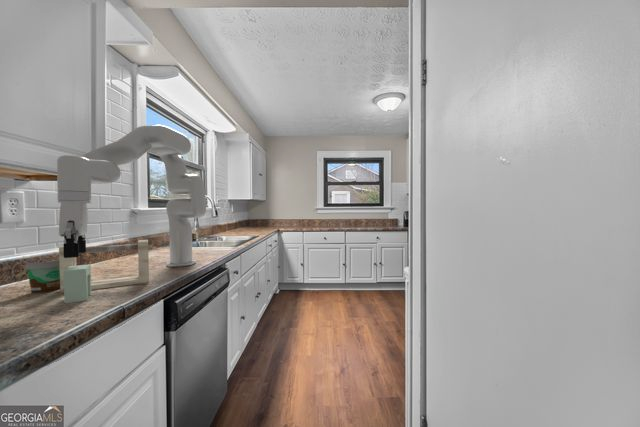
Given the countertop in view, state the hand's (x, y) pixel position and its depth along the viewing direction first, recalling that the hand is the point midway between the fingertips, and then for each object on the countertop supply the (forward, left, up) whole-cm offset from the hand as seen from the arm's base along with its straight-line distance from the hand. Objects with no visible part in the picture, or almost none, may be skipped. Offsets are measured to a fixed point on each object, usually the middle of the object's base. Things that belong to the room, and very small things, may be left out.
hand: (75, 255), depth 82 cm
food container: (-17, -9, -14) cm, 24 cm away
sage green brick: (0, 0, -13) cm, 13 cm away
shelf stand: (-12, +6, -13) cm, 19 cm away
